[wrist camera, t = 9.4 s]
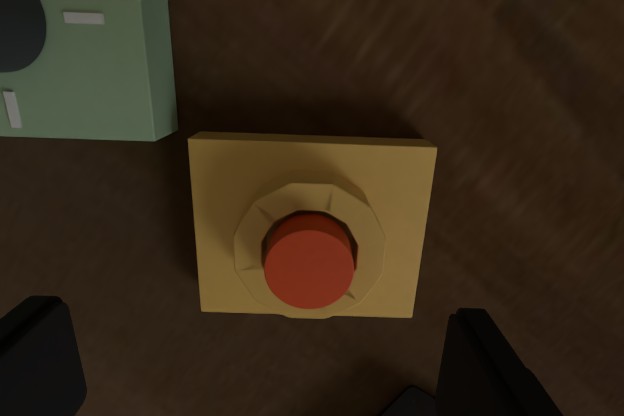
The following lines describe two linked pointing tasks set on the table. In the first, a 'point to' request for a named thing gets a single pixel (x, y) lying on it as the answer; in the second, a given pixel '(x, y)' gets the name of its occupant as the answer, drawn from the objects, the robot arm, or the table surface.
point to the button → (309, 262)
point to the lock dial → (20, 33)
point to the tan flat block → (309, 200)
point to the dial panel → (96, 75)
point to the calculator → (412, 404)
